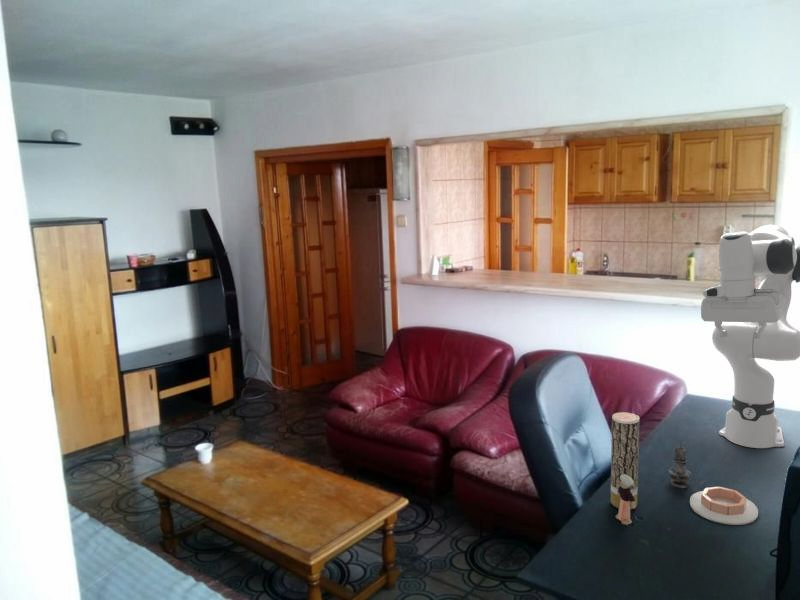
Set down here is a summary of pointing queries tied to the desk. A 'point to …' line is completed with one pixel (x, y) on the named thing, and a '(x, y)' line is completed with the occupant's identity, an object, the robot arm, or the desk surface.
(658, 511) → the desk surface
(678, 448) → the grey chess piece
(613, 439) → the wooden cylinder
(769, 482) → the desk surface
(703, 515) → the saucer
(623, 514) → the grandmother figurine
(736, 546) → the desk surface
